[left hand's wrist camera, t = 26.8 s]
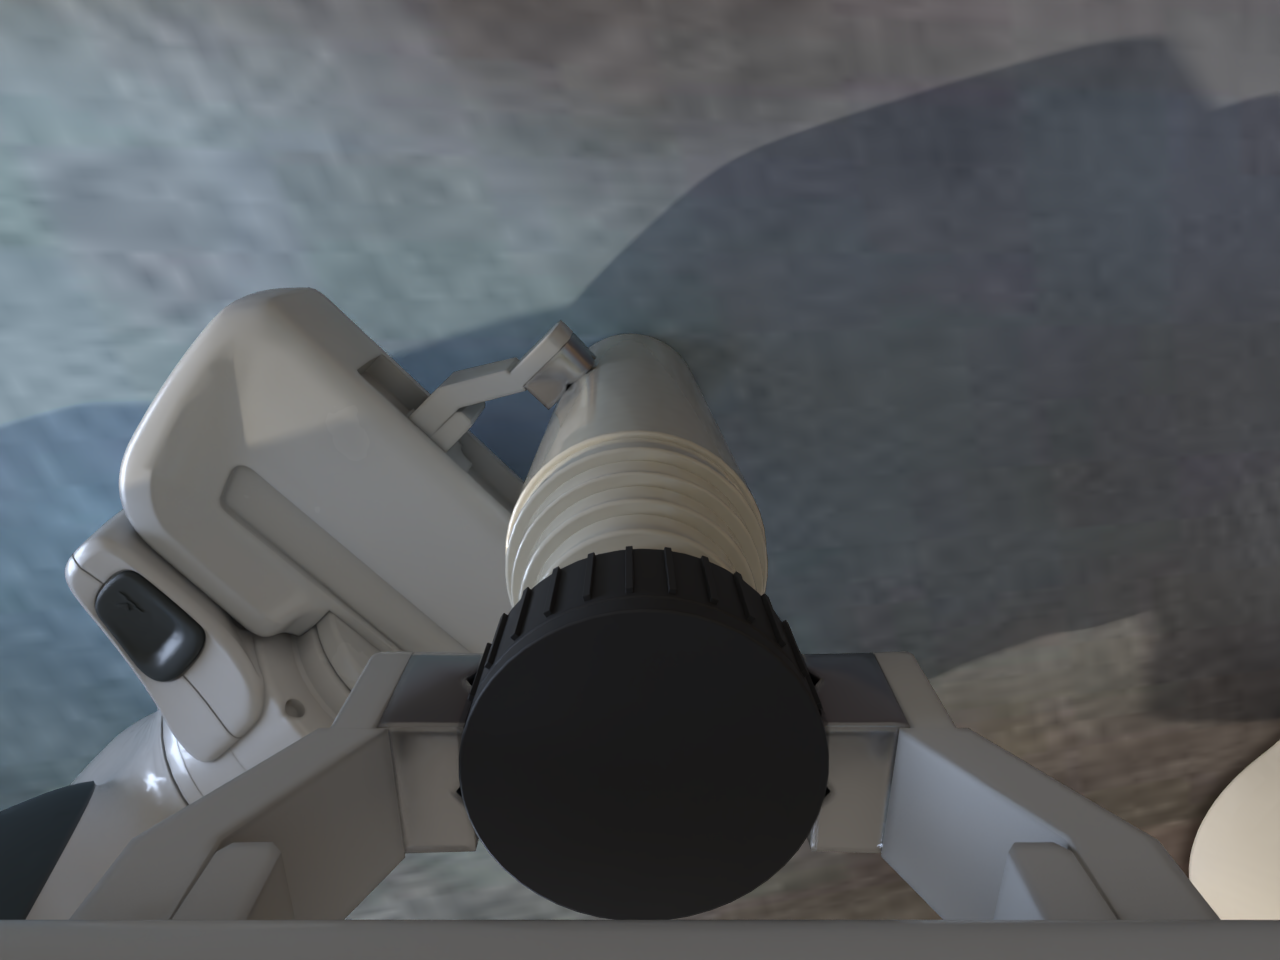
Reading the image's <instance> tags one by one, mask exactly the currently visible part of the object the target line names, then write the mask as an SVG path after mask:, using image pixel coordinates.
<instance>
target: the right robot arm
mask: <svg viewBox="0 0 1280 960" xmlns="http://www.w3.org/2000/svg"><path fill="white" fill-rule="evenodd" d="M595 359H596V356H595V355H594V354H593V353H592V352H591V351H590V350H589V348H588V347H587V346H586V345H585V344H584V343H583V342H582V341H581V340H580V339H579V338H578V337H577V336H576V335H575V334H574V333H573V331H572V330H571V329H570V328H569V327H568V326H567V325H566V324H565V323H563V322H562V321H561V320H560V321H559V322H558V323H557V324H555V325H554V326H553V327H552V328H551V329H550V330H549V331H548V332H547V333H546V334H545V335H544V336H543V337H542V338H541V339H540V340H539V341H538V342H537V343H536V344H535V345H534V346H533V347H532V348H531V349H530V350H529V351H528V352H527V353H526V354H525V355H524V356H523V357H522V358H521V359H520V360H519V359H517V358H516V357H515V358H510V359H506V360H502V361H498V362H494V363H489V364H485V365H481V366H477V367H472V368H468V369H464V370H460V371H456V372H453V373H452V374H451V375H450V376H449V377H448V378H447V379H446V380H445V381H444V382H443V383H442V384H441V385H440V386H439V387H438V388H437V389H436V390H435V391H434V392H433V393H432V394H430V393H428V392H427V391H426V390H425V389H424V388H423V387H422V386H421V385H420V384H419V383H418V382H417V381H416V380H415V379H413V378H412V377H411V376H410V375H409V374H408V373H407V372H406V371H405V370H404V369H403V368H402V367H401V366H400V365H398V364H397V363H396V362H395V361H394V360H393V359H392V358H391V357H390V356H389V355H388V354H387V353H386V352H385V351H383V350H382V349H381V348H380V347H379V346H378V345H377V344H376V343H375V342H374V341H373V340H372V339H371V338H370V337H369V336H367V335H366V334H365V333H364V332H363V331H362V330H361V329H360V328H359V327H358V326H357V325H356V324H355V323H354V322H352V321H351V320H350V319H349V318H348V317H347V316H346V315H345V314H344V313H343V312H342V311H341V310H340V309H339V308H338V307H337V306H335V305H334V304H333V303H332V302H331V301H330V300H329V299H328V298H327V297H326V296H325V295H323V294H322V293H321V292H319V291H318V290H316V289H313V288H300V287H298V288H278V289H269V290H264V291H259V292H256V293H253V294H250V295H247V296H245V297H242V298H240V299H238V300H235V301H234V302H232V303H231V304H229V305H228V306H226V307H225V308H224V309H223V310H221V311H220V312H219V313H218V314H217V315H216V316H215V317H214V318H213V319H212V321H211V322H210V323H209V324H208V325H207V326H206V327H205V329H204V330H203V331H202V332H201V334H200V335H199V336H198V337H197V339H196V340H195V341H194V342H193V344H192V345H191V346H190V348H189V349H188V350H187V352H186V353H185V354H184V356H183V357H182V358H181V360H180V361H179V362H178V364H177V365H176V367H175V368H174V370H173V371H172V373H171V374H170V375H169V377H168V378H167V380H166V381H165V383H164V384H163V386H162V387H161V389H160V391H159V392H158V394H157V395H156V397H155V398H154V400H153V401H152V403H151V405H150V406H149V408H148V410H147V411H146V413H145V415H144V417H143V418H142V420H141V422H140V424H139V425H138V427H137V429H136V430H135V432H134V434H133V436H132V438H131V440H130V442H129V444H128V446H127V448H126V451H125V454H124V457H123V460H122V463H121V468H120V474H119V493H120V499H121V503H122V507H123V509H122V510H121V511H120V512H119V513H117V514H116V515H115V516H113V517H112V518H111V519H110V520H108V521H107V522H106V523H105V524H104V525H102V526H101V527H100V528H99V529H98V530H97V531H96V532H95V533H93V534H92V535H91V536H90V537H89V538H88V539H87V540H86V541H85V542H84V543H83V544H82V545H81V546H80V547H79V548H78V549H77V550H76V551H75V552H74V553H73V554H72V556H71V557H70V558H69V560H68V562H67V564H66V567H65V578H66V581H67V584H68V586H69V588H70V590H71V591H72V593H73V594H74V596H75V597H76V599H77V600H78V601H79V603H80V604H81V605H82V606H83V608H84V609H85V610H86V611H87V613H88V614H89V615H90V616H91V617H92V619H93V620H94V621H95V622H96V623H97V625H98V626H99V627H100V628H101V630H102V631H103V632H104V633H105V635H106V636H107V637H108V638H109V640H110V641H111V642H112V643H113V645H114V646H115V647H116V648H117V650H118V651H119V652H120V654H121V655H122V656H123V658H124V659H125V660H126V662H127V663H128V664H129V666H130V667H131V668H132V670H133V671H134V673H135V674H136V675H137V677H138V678H139V680H140V681H141V682H142V684H143V685H144V687H145V688H146V690H147V692H148V693H149V695H150V696H151V698H152V699H153V701H154V702H155V704H156V706H157V707H158V710H157V711H156V712H154V713H152V714H150V715H148V716H146V717H144V718H142V719H140V720H139V721H137V722H135V723H134V724H132V725H131V726H129V727H128V728H126V729H125V730H124V731H122V732H121V733H120V734H119V735H118V736H116V737H115V738H114V739H113V740H112V741H111V742H110V743H109V744H108V745H107V746H106V747H105V748H104V749H103V750H102V751H101V752H100V753H99V754H98V755H97V756H96V757H95V758H94V759H93V760H92V761H91V762H90V763H89V764H88V765H87V766H86V767H85V768H84V770H83V771H82V772H81V773H80V774H79V775H78V776H77V777H76V778H75V780H74V781H73V782H72V783H71V784H70V785H69V786H66V787H62V788H59V789H56V790H53V791H50V792H47V793H45V794H42V795H40V796H37V797H35V798H32V799H30V800H27V801H25V802H22V803H20V804H18V805H15V806H13V807H10V808H8V809H6V810H3V811H1V812H0V920H69V919H70V917H71V916H72V915H73V914H74V912H75V911H76V910H77V908H78V907H79V906H80V905H81V903H82V902H83V901H84V899H85V898H86V897H87V896H88V894H89V893H90V892H91V890H92V889H93V888H94V887H95V885H96V884H97V883H98V882H99V880H100V879H101V878H102V876H103V875H104V874H105V873H106V871H107V870H108V869H109V867H110V866H111V865H112V864H113V862H114V861H115V860H116V858H117V857H118V856H119V855H120V853H121V852H122V851H123V850H124V848H125V847H126V846H127V844H128V843H129V842H130V841H131V839H132V838H134V837H136V836H137V835H139V834H141V833H143V832H144V831H146V830H148V829H149V828H151V827H153V826H154V825H156V824H158V823H159V822H161V821H163V820H164V819H166V818H168V817H170V816H171V815H173V814H175V813H176V812H178V811H180V810H181V809H183V808H185V807H186V806H188V805H190V804H191V803H193V802H195V801H197V800H198V799H200V798H202V797H203V796H205V795H207V794H208V793H210V792H212V791H213V790H215V789H217V788H218V787H220V786H222V785H224V784H225V783H227V782H229V781H230V780H232V779H234V778H235V777H237V776H239V775H240V774H242V773H244V772H245V771H247V770H249V769H251V768H252V767H254V766H256V765H257V764H259V763H261V762H262V761H264V760H266V759H267V758H269V757H271V756H272V755H274V754H276V753H277V752H279V751H281V750H283V749H284V748H286V747H288V746H289V745H291V744H293V743H294V742H296V741H298V740H299V739H301V738H303V737H304V736H306V735H308V734H310V733H311V732H313V731H315V730H316V729H318V728H330V727H331V726H332V724H333V722H334V720H335V719H336V717H337V715H338V713H339V712H340V710H341V708H342V707H343V705H344V703H345V701H346V700H347V698H348V696H349V694H350V693H351V691H352V689H353V687H354V686H355V684H356V682H357V680H358V679H359V677H360V675H361V673H362V672H363V670H364V668H365V666H366V665H367V663H368V661H369V660H370V658H371V656H372V655H373V654H376V653H378V652H414V653H416V652H445V653H484V650H485V647H486V644H487V643H491V644H492V641H493V638H494V635H495V632H496V629H497V626H498V623H499V620H500V617H501V616H502V614H503V613H505V614H507V615H508V614H509V612H510V611H511V609H512V606H511V604H510V600H509V596H508V592H507V588H506V578H505V547H506V536H507V530H508V525H509V521H510V518H511V515H512V512H513V509H514V507H515V504H516V502H517V499H518V497H519V494H520V492H521V489H522V487H523V485H524V481H523V480H522V479H521V478H520V477H518V476H517V475H516V474H515V473H514V472H513V471H512V470H511V469H510V468H509V467H508V466H507V465H506V464H505V463H503V462H502V461H501V460H500V459H499V458H498V457H497V456H496V455H495V454H494V453H493V452H492V451H491V450H490V449H488V448H487V447H486V446H485V445H484V444H483V443H482V442H481V441H480V440H479V439H478V438H477V437H476V436H475V435H473V434H472V433H471V432H470V431H469V430H468V429H469V428H470V427H471V426H472V425H473V424H474V422H475V421H476V419H477V418H478V417H479V415H480V414H481V412H482V411H483V409H484V408H485V402H484V401H488V400H492V399H496V398H500V397H504V396H507V395H511V394H515V393H519V392H523V391H526V390H528V391H529V392H530V393H531V394H532V395H533V396H535V397H536V398H537V399H538V400H539V401H540V402H541V403H542V404H543V405H544V406H545V407H546V408H547V409H548V410H549V409H550V408H551V407H552V406H553V405H554V404H555V403H556V402H557V401H558V400H559V399H560V398H561V397H562V396H563V394H564V393H565V392H566V390H567V387H568V384H572V383H575V382H576V381H577V380H578V379H580V378H581V377H583V376H584V375H585V374H586V373H587V372H588V371H589V370H590V369H591V368H592V366H593V365H594V363H595V361H594V360H595Z"/></svg>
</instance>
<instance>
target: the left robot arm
mask: <svg viewBox="0 0 1280 960" xmlns="http://www.w3.org/2000/svg"><path fill="white" fill-rule="evenodd" d="M801 655H802V657H803V660H804V662H805V665H806V667H807V670H808V672H809V674H810V677H811V679H812V682H813V684H814V687H815V689H816V692H817V694H818V696H819V699H820V701H821V704H822V709H819V712H820V715H821V718H822V722H823V725H824V728H825V731H826V736H827V743H828V750H829V775H828V782H827V788H826V794H825V797H824V800H823V803H822V806H821V810H820V813H819V815H818V817H817V819H816V821H815V823H814V825H813V827H812V830H811V832H810V833H809V835H808V836H807V838H808V842H809V845H810V849H811V851H824V852H859V853H881V857H882V858H883V859H884V860H885V861H886V862H887V863H888V864H889V865H890V866H891V867H892V868H893V869H894V870H895V871H896V872H897V873H898V874H899V875H900V876H901V877H902V878H903V879H904V880H905V881H906V882H907V883H908V884H909V885H910V886H911V887H912V888H913V889H914V890H915V891H916V892H917V893H918V894H919V895H920V896H921V897H922V898H923V899H924V900H925V901H926V902H927V903H928V904H929V905H930V907H931V908H932V909H933V910H934V911H935V912H936V913H937V914H938V915H939V916H940V917H941V918H942V919H943V920H344V919H345V918H346V917H347V916H348V915H349V914H350V913H351V912H352V911H353V910H354V909H355V908H356V907H357V906H358V905H359V904H360V903H361V902H362V901H363V900H364V899H365V898H366V897H367V896H368V894H369V893H370V892H371V891H372V890H373V889H374V888H375V887H376V886H377V885H378V884H379V883H380V882H381V881H382V880H383V879H384V878H385V877H386V876H387V875H388V874H389V873H390V872H391V871H392V870H393V869H394V868H395V867H396V866H397V865H398V864H399V863H400V862H401V861H402V860H403V859H404V858H405V853H426V852H461V851H476V847H477V843H478V839H479V837H478V836H477V834H476V832H475V830H474V828H473V826H472V824H471V822H470V820H469V817H468V814H467V811H466V808H465V805H464V802H463V799H462V795H461V788H460V782H459V750H460V744H461V737H462V733H463V730H464V727H465V724H466V721H467V718H468V714H469V711H470V708H471V705H472V703H473V702H472V701H468V696H469V694H470V691H471V688H472V685H473V682H474V679H475V676H476V673H477V670H478V667H479V665H480V662H481V659H482V656H483V653H445V652H416V653H414V652H378V653H376V654H373V655H372V656H371V658H370V660H369V661H368V663H367V665H366V666H365V668H364V670H363V672H362V673H361V675H360V677H359V679H358V680H357V682H356V684H355V686H354V687H353V689H352V691H351V693H350V694H349V696H348V698H347V700H346V701H345V703H344V705H343V707H342V708H341V710H340V712H339V713H338V715H337V717H336V719H335V720H334V722H333V724H332V726H331V727H330V728H318V729H316V730H315V731H313V732H311V733H310V734H308V735H306V736H304V737H303V738H301V739H299V740H298V741H296V742H294V743H293V744H291V745H289V746H288V747H286V748H284V749H283V750H281V751H279V752H277V753H276V754H274V755H272V756H271V757H269V758H267V759H266V760H264V761H262V762H261V763H259V764H257V765H256V766H254V767H252V768H251V769H249V770H247V771H245V772H244V773H242V774H240V775H239V776H237V777H235V778H234V779H232V780H230V781H229V782H227V783H225V784H224V785H222V786H220V787H218V788H217V789H215V790H213V791H212V792H210V793H208V794H207V795H205V796H203V797H202V798H200V799H198V800H197V801H195V802H193V803H191V804H190V805H188V806H186V807H185V808H183V809H181V810H180V811H178V812H176V813H175V814H173V815H171V816H170V817H168V818H166V819H164V820H163V821H161V822H159V823H158V824H156V825H154V826H153V827H151V828H149V829H148V830H146V831H144V832H143V833H141V834H139V835H137V836H136V837H134V838H132V839H131V841H130V842H129V843H128V844H127V846H126V847H125V848H124V850H123V851H122V852H121V853H120V855H119V856H118V857H117V858H116V860H115V861H114V862H113V864H112V865H111V866H110V867H109V869H108V870H107V871H106V873H105V874H104V875H103V876H102V878H101V879H100V880H99V882H98V883H97V884H96V885H95V887H94V888H93V889H92V890H91V892H90V893H89V894H88V896H87V897H86V898H85V899H84V901H83V902H82V903H81V905H80V906H79V907H78V908H77V910H76V911H75V912H74V914H73V915H72V916H71V917H70V919H69V920H0V960H1280V740H1279V741H1278V742H1276V743H1275V744H1274V745H1273V746H1272V747H1271V748H1269V749H1268V750H1267V751H1266V752H1264V753H1263V754H1262V755H1261V756H1259V757H1258V758H1257V759H1256V760H1254V761H1253V762H1252V763H1251V764H1250V765H1248V766H1247V767H1246V768H1245V769H1244V770H1243V771H1242V772H1241V773H1239V774H1238V775H1237V776H1236V777H1235V778H1234V779H1233V780H1232V781H1231V783H1230V784H1229V785H1228V786H1227V787H1226V788H1225V789H1224V790H1223V792H1222V793H1221V794H1220V795H1219V797H1218V798H1217V799H1216V800H1215V802H1214V803H1213V805H1212V806H1211V808H1210V809H1209V811H1208V812H1207V814H1206V816H1205V818H1204V819H1203V821H1202V823H1201V825H1200V827H1199V829H1198V832H1197V834H1196V837H1195V840H1194V843H1193V846H1192V850H1191V855H1190V862H1189V879H1188V877H1187V876H1186V875H1185V874H1184V872H1183V871H1182V870H1181V868H1180V867H1179V866H1178V865H1177V863H1176V862H1175V861H1174V860H1173V858H1172V857H1171V856H1170V854H1169V853H1168V852H1167V851H1166V849H1165V848H1164V847H1163V846H1162V844H1161V843H1160V842H1159V841H1158V840H1157V839H1155V838H1154V837H1152V836H1150V835H1149V834H1147V833H1145V832H1144V831H1142V830H1140V829H1138V828H1137V827H1135V826H1133V825H1132V824H1130V823H1128V822H1127V821H1125V820H1123V819H1122V818H1120V817H1118V816H1116V815H1115V814H1113V813H1111V812H1110V811H1108V810H1106V809H1105V808H1103V807H1101V806H1099V805H1098V804H1096V803H1094V802H1093V801H1091V800H1089V799H1088V798H1086V797H1084V796H1083V795H1081V794H1079V793H1077V792H1076V791H1074V790H1072V789H1071V788H1069V787H1067V786H1066V785H1064V784H1062V783H1061V782H1059V781H1057V780H1055V779H1054V778H1052V777H1050V776H1049V775H1047V774H1045V773H1044V772H1042V771H1040V770H1038V769H1037V768H1035V767H1033V766H1032V765H1030V764H1028V763H1027V762H1025V761H1023V760H1022V759H1020V758H1018V757H1016V756H1015V755H1013V754H1011V753H1010V752H1008V751H1006V750H1005V749H1003V748H1001V747H999V746H998V745H996V744H994V743H993V742H991V741H989V740H988V739H986V738H984V737H983V736H981V735H979V734H977V733H976V732H974V731H972V730H971V729H969V728H956V726H955V724H954V723H953V721H952V719H951V718H950V716H949V714H948V713H947V711H946V709H945V707H944V706H943V704H942V702H941V701H940V699H939V697H938V696H937V694H936V692H935V691H934V689H933V687H932V686H931V684H930V682H929V681H928V679H927V677H926V676H925V674H924V672H923V671H922V669H921V667H920V665H919V664H918V662H917V660H916V659H915V657H914V655H913V654H911V653H909V652H908V651H898V652H871V653H845V654H801Z"/></svg>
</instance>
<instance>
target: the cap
mask: <svg viewBox="0 0 1280 960" xmlns="http://www.w3.org/2000/svg"><path fill="white" fill-rule="evenodd" d="M468 701H472V702H473V703H472V705H471V708H470V711H469V714H468V718H467V721H466V724H465V727H464V730H463V733H462V737H461V744H460V750H459V782H460V788H461V795H462V799H463V802H464V805H465V808H466V811H467V814H468V817H469V820H470V822H471V824H472V826H473V828H474V830H475V832H476V834H477V836H478V837H479V839H480V840H481V842H482V843H483V845H484V846H485V848H486V849H487V851H488V852H489V853H490V855H491V856H492V857H493V858H494V859H495V860H496V861H497V862H498V863H499V864H500V866H501V867H502V868H503V869H504V870H505V871H507V872H508V873H509V874H510V875H511V876H512V877H514V878H515V879H516V880H517V881H518V882H520V883H521V884H522V885H524V886H526V887H527V888H529V889H530V890H532V891H533V892H535V893H536V894H538V895H540V896H542V897H544V898H546V899H548V900H550V901H552V902H553V903H555V904H558V905H560V906H563V907H566V908H568V909H571V910H574V911H576V912H580V913H584V914H588V915H592V916H596V917H600V918H607V919H614V920H670V919H676V918H682V917H688V916H692V915H696V914H699V913H703V912H707V911H710V910H713V909H715V908H718V907H720V906H723V905H725V904H728V903H730V902H732V901H734V900H736V899H738V898H740V897H742V896H744V895H746V894H748V893H749V892H751V891H753V890H754V889H756V888H757V887H758V886H760V885H761V884H763V883H764V882H766V881H767V880H769V879H770V878H771V877H772V876H773V875H774V874H775V873H777V872H778V871H779V870H780V869H781V868H782V867H783V866H785V864H786V863H787V862H788V861H789V860H790V859H791V858H792V856H793V855H794V854H795V853H796V852H797V851H798V850H799V848H800V847H801V845H802V844H803V842H804V841H805V839H806V838H807V836H808V835H809V833H810V832H811V830H812V827H813V825H814V823H815V821H816V819H817V817H818V815H819V813H820V810H821V806H822V803H823V800H824V797H825V794H826V788H827V782H828V775H829V750H828V743H827V736H826V731H825V728H824V725H823V722H822V718H821V715H820V712H819V709H822V704H821V701H820V699H819V696H818V694H817V692H816V689H815V687H814V684H813V682H812V679H811V677H810V674H809V672H808V670H807V667H806V665H805V662H804V660H803V657H802V655H801V652H800V651H799V649H798V646H797V644H796V641H795V639H794V636H793V634H792V631H791V629H790V627H789V624H788V623H787V621H786V620H785V621H783V622H781V620H780V619H779V617H778V616H777V614H776V613H775V611H774V610H773V608H772V605H771V602H770V600H769V597H768V596H767V595H766V594H765V593H764V594H763V595H762V596H761V595H760V594H759V593H758V592H757V591H756V590H755V589H753V588H752V587H751V586H750V585H748V584H747V583H746V582H745V581H744V580H743V578H742V575H741V574H740V573H738V572H737V571H736V572H735V573H734V574H733V573H731V572H730V571H728V570H726V569H725V568H722V567H720V566H718V565H716V564H714V563H711V562H709V559H708V557H706V556H703V555H702V556H701V558H698V557H695V556H691V555H688V554H685V553H679V552H673V551H672V549H671V548H669V547H664V550H659V549H633V546H626V550H618V551H612V552H607V553H602V554H598V555H595V553H594V552H593V553H589V554H588V556H587V558H585V559H582V560H579V561H576V562H574V563H572V564H570V565H568V566H566V567H564V568H561V569H560V567H559V566H558V567H556V568H554V569H553V571H552V574H551V575H550V576H548V577H546V578H545V579H543V580H542V581H540V582H539V583H538V584H537V585H536V586H534V587H533V588H532V589H530V588H529V587H527V588H526V589H525V590H524V591H523V594H522V597H521V599H520V600H519V602H518V603H517V604H516V605H515V606H514V607H513V608H512V609H511V611H510V612H509V614H508V615H507V614H505V613H503V614H502V616H501V617H500V620H499V623H498V626H497V629H496V632H495V635H494V638H493V641H492V644H491V643H487V644H486V647H485V650H484V653H483V656H482V659H481V662H480V665H479V667H478V670H477V673H476V676H475V679H474V682H473V685H472V688H471V691H470V694H469V696H468Z"/></svg>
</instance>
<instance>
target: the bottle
mask: <svg viewBox="0 0 1280 960" xmlns="http://www.w3.org/2000/svg"><path fill="white" fill-rule="evenodd" d="M589 350H590V351H591V352H592V353H593V354H594V355H595V356H596V359H595V360H594V361H595V363H594V365H593V366H592V368H591V369H590V370H589V371H588V372H587V373H586V374H585V375H584V376H583V377H581V378H580V379H578V380H577V381H576V382H575V383H572V384H568V387H567V390H566V392H565V393H564V394H563V396H562V397H561V398H560V399H559V400H558V401H557V404H556V406H555V408H554V411H553V413H552V416H551V418H550V421H549V423H548V426H547V428H546V431H545V433H544V435H543V438H542V440H541V443H540V445H539V448H538V450H537V453H536V455H535V458H534V460H533V462H532V465H531V467H530V470H529V472H528V475H527V477H526V480H525V482H524V485H523V487H522V489H521V492H520V494H519V497H518V499H517V502H516V504H515V507H514V509H513V512H512V515H511V518H510V521H509V525H508V530H507V536H506V547H505V578H506V588H507V592H508V596H509V600H510V604H511V606H512V608H513V607H514V606H515V605H516V604H517V603H518V602H519V600H520V599H521V597H522V594H523V591H524V590H525V589H526V588H527V587H529V588H530V589H532V588H533V587H534V586H536V585H537V584H538V583H539V582H540V581H542V580H543V579H545V578H546V577H548V576H550V575H551V574H552V571H553V569H554V568H556V567H558V566H559V567H560V569H561V568H564V567H566V566H568V565H570V564H572V563H574V562H576V561H579V560H582V559H585V558H587V556H588V554H589V553H593V552H594V553H595V555H598V554H602V553H607V552H612V551H618V550H626V546H633V549H659V550H664V547H669V548H671V549H672V551H673V552H679V553H685V554H688V555H691V556H695V557H698V558H701V556H702V555H703V556H706V557H708V559H709V562H711V563H714V564H716V565H718V566H720V567H722V568H725V569H726V570H728V571H730V572H731V573H733V574H734V573H735V572H736V571H737V572H738V573H740V574H741V575H742V578H743V580H744V581H745V582H746V583H747V584H748V585H750V586H751V587H752V588H753V589H755V590H756V591H757V592H758V593H759V594H760V595H761V596H762V595H763V594H764V593H765V591H766V584H767V577H768V557H767V550H766V537H765V530H764V525H763V521H762V518H761V514H760V511H759V509H758V507H757V504H756V502H755V500H754V498H753V496H752V494H751V492H750V490H749V488H748V486H747V483H746V481H745V479H744V477H743V475H742V473H741V471H740V469H739V467H738V465H737V463H736V461H735V459H734V457H733V455H732V453H731V451H730V449H729V447H728V445H727V443H726V441H725V439H724V437H723V435H722V433H721V431H720V429H719V427H718V425H717V423H716V421H715V419H714V417H713V415H712V413H711V411H710V409H709V407H708V405H707V403H706V401H705V399H704V397H703V395H702V393H701V391H700V389H699V387H698V385H697V383H696V381H695V379H694V377H693V375H692V373H691V371H690V369H689V367H688V366H687V364H686V362H685V361H684V360H683V358H682V357H681V356H680V355H679V354H678V353H677V352H676V351H675V350H674V349H673V348H671V347H670V346H668V345H667V344H665V343H664V342H662V341H660V340H658V339H655V338H652V337H650V336H645V335H641V334H620V335H615V336H611V337H608V338H605V339H603V340H601V341H599V342H597V343H595V344H594V345H592V346H591V347H589Z"/></svg>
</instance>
